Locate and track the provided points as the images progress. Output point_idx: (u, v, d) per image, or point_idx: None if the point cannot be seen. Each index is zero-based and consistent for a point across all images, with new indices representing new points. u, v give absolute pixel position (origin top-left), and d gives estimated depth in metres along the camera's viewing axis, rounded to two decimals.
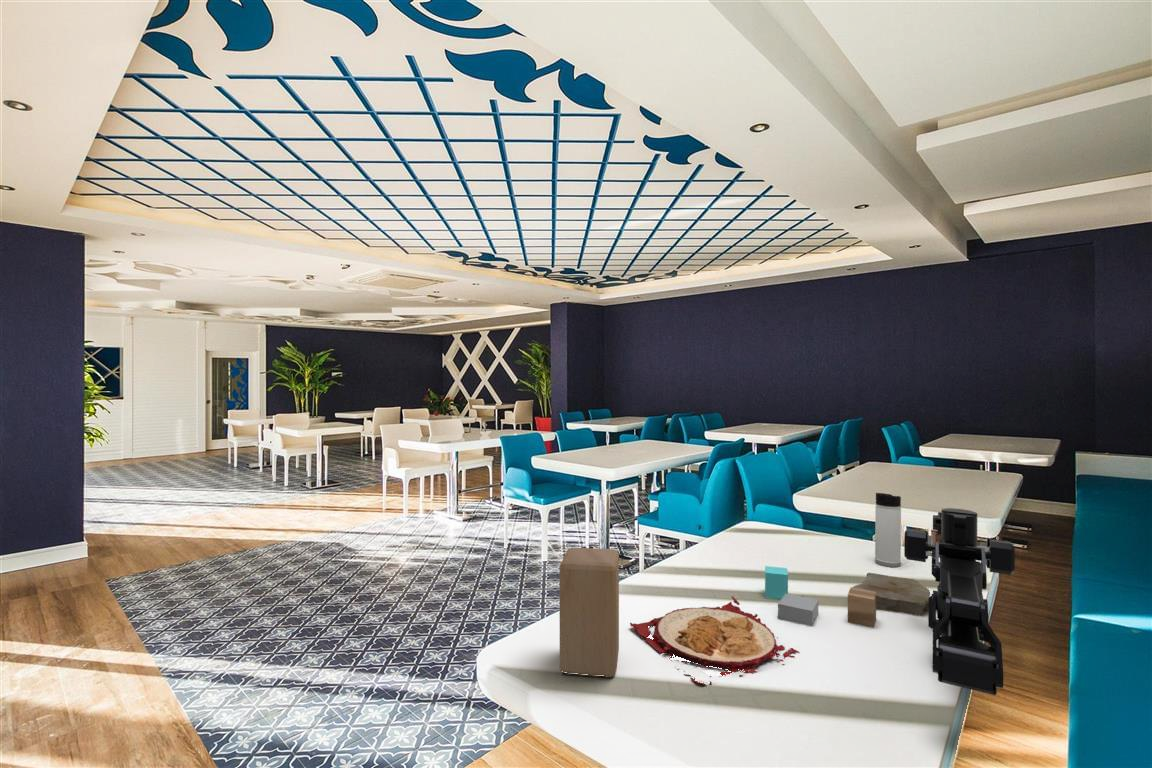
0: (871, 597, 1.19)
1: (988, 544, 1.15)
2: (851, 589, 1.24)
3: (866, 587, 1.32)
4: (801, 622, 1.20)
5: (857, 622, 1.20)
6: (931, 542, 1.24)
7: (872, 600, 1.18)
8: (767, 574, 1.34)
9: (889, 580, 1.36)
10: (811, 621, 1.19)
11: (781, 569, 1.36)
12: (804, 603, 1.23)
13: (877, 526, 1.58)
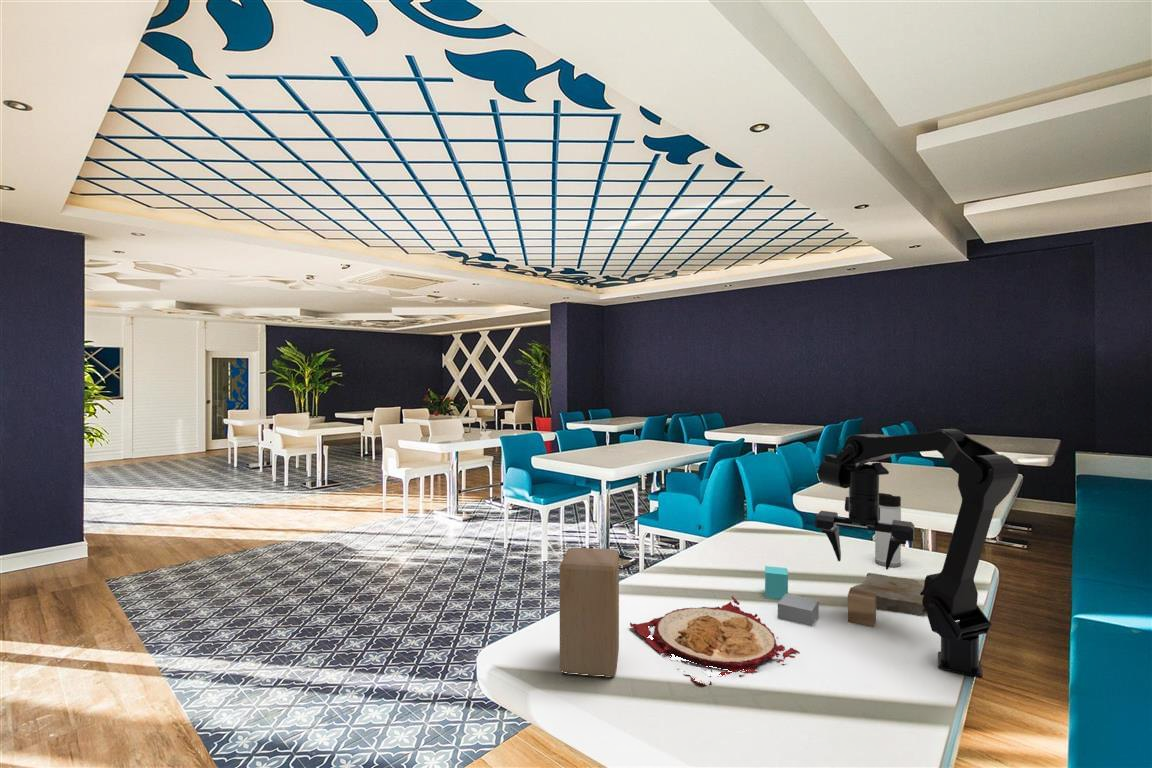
0: (871, 597, 1.19)
1: (892, 534, 1.20)
2: (851, 589, 1.24)
3: (866, 587, 1.32)
4: (801, 622, 1.20)
5: (857, 622, 1.20)
6: (839, 552, 1.23)
7: (872, 600, 1.18)
8: (767, 574, 1.34)
9: (889, 580, 1.36)
10: (811, 621, 1.19)
11: (781, 569, 1.36)
12: (804, 603, 1.23)
13: None
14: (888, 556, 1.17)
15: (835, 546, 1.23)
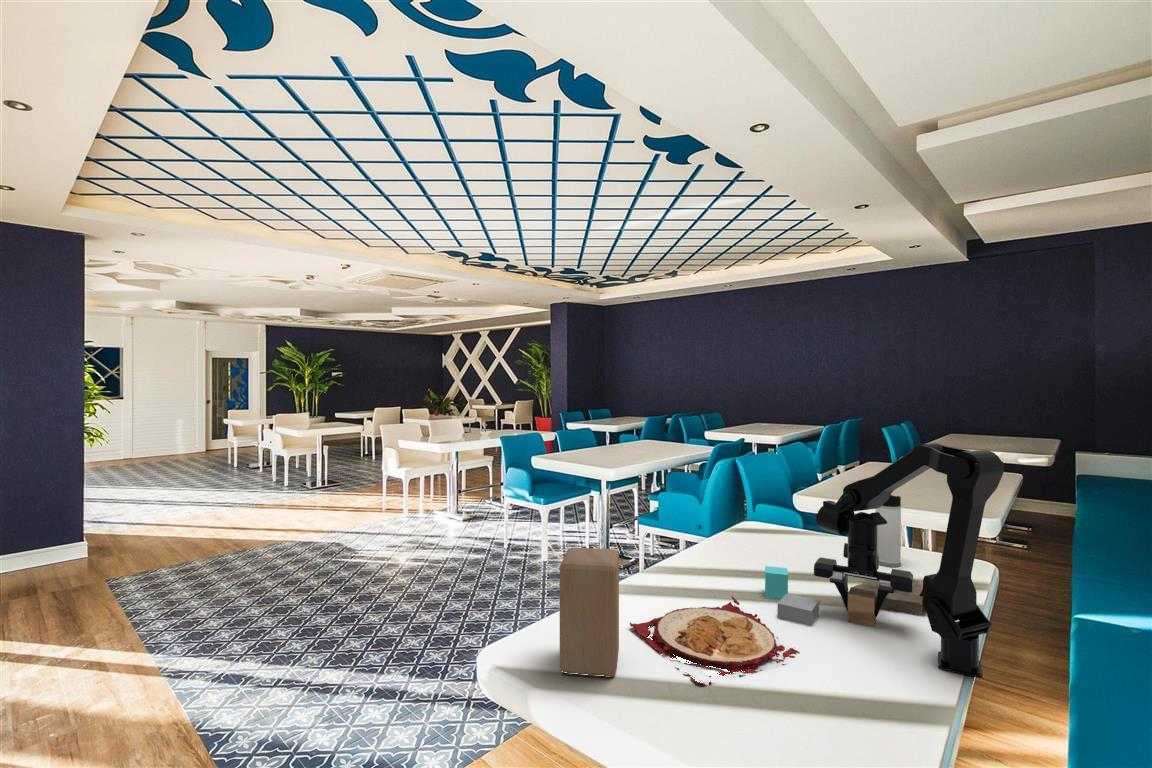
0: (871, 597, 1.19)
1: None
2: (851, 589, 1.24)
3: (866, 587, 1.32)
4: (800, 622, 1.20)
5: (857, 622, 1.20)
6: None
7: (872, 600, 1.18)
8: (767, 574, 1.34)
9: None
10: (810, 621, 1.19)
11: (781, 569, 1.36)
12: (804, 603, 1.23)
13: None
14: (877, 604, 1.18)
15: (844, 596, 1.22)
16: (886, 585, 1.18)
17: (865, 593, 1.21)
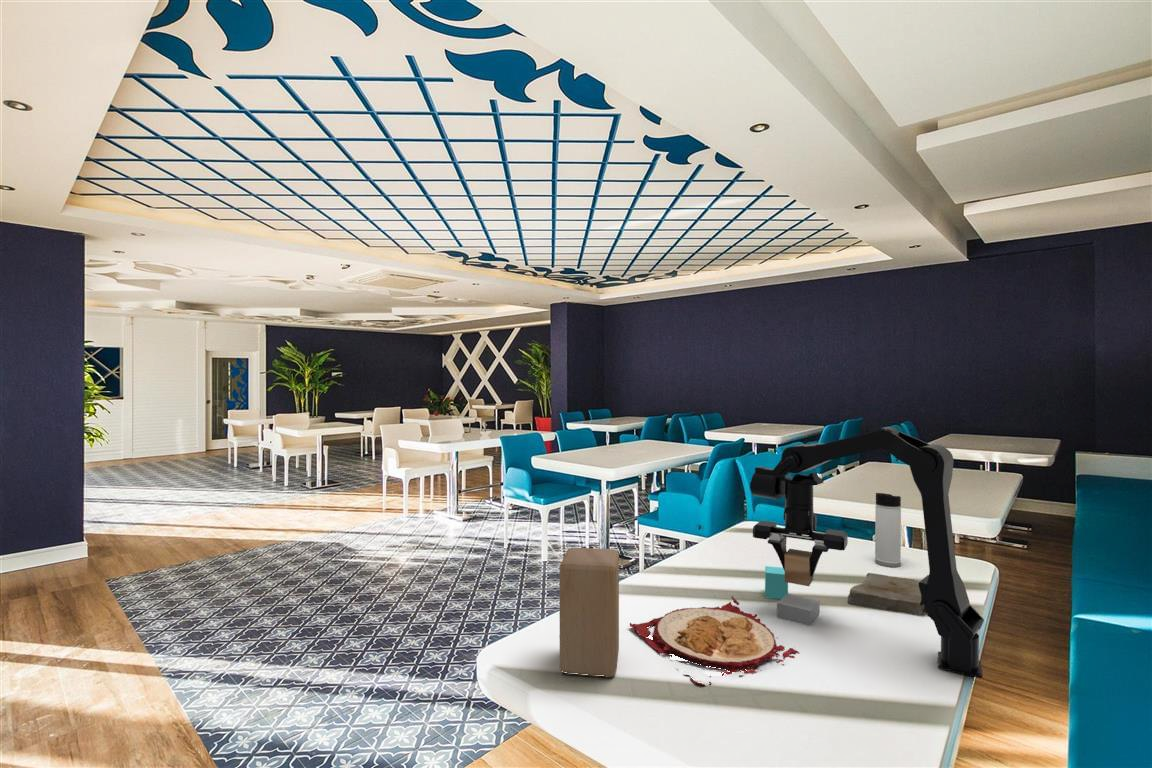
0: (806, 556, 1.21)
1: None
2: (789, 550, 1.26)
3: (866, 587, 1.32)
4: (799, 622, 1.20)
5: (793, 581, 1.22)
6: None
7: (807, 559, 1.20)
8: (767, 574, 1.34)
9: (889, 580, 1.36)
10: (809, 621, 1.19)
11: (781, 569, 1.36)
12: (804, 603, 1.23)
13: (877, 526, 1.58)
14: (812, 563, 1.20)
15: (781, 557, 1.24)
16: (820, 544, 1.20)
17: (802, 553, 1.23)
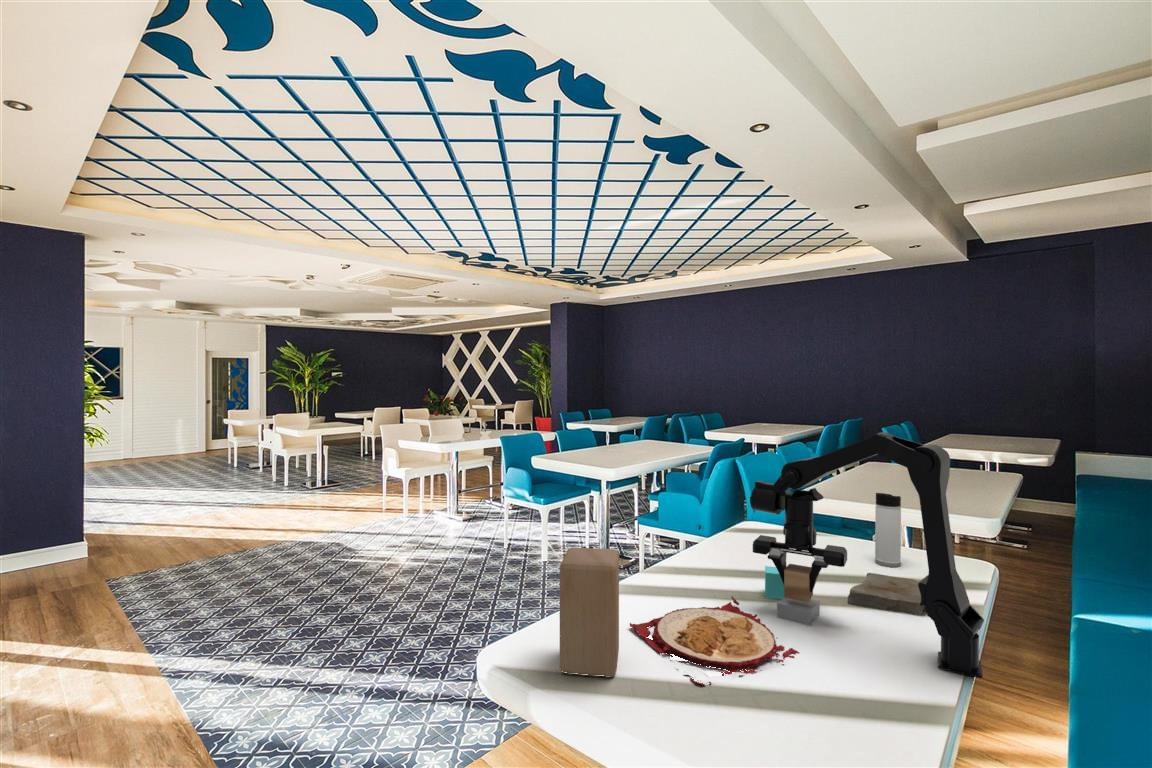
0: (806, 572, 1.21)
1: None
2: (789, 565, 1.26)
3: (866, 587, 1.32)
4: (799, 622, 1.20)
5: (793, 597, 1.22)
6: None
7: (807, 575, 1.20)
8: (767, 574, 1.34)
9: (889, 580, 1.36)
10: (809, 621, 1.19)
11: None
12: (804, 603, 1.23)
13: (877, 526, 1.58)
14: (811, 579, 1.21)
15: (781, 572, 1.24)
16: (820, 560, 1.20)
17: (801, 569, 1.23)
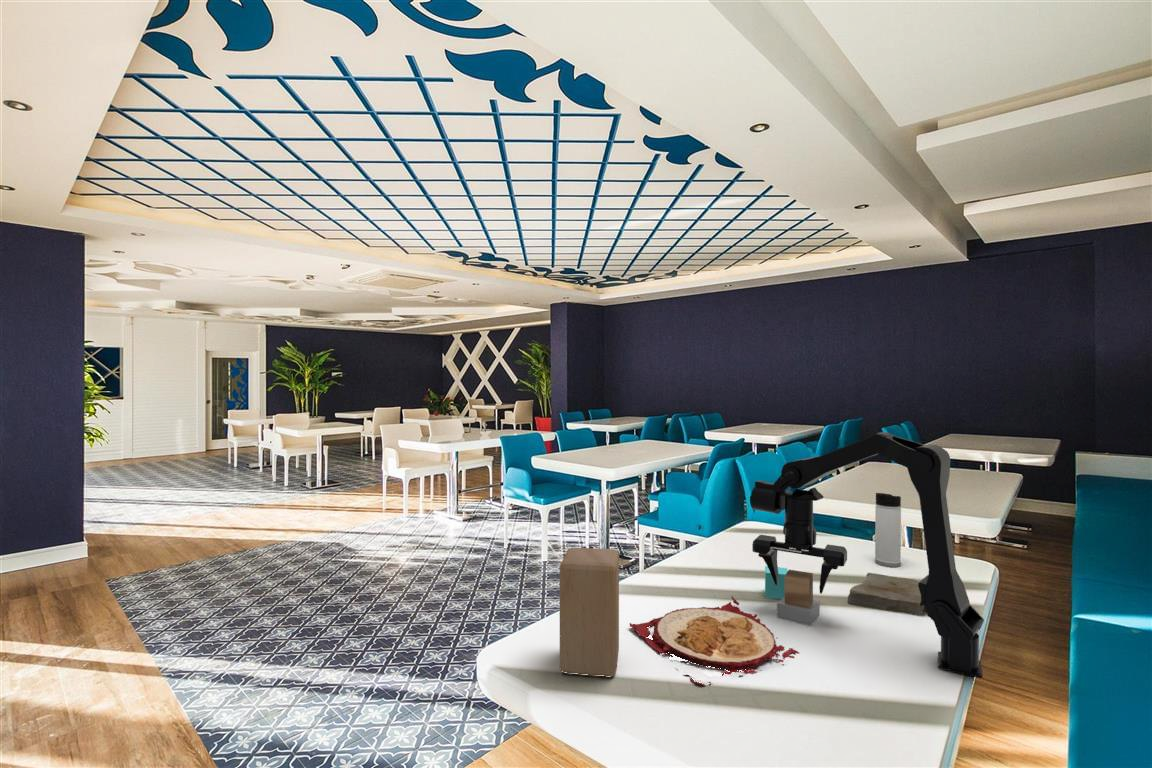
0: (806, 578, 1.21)
1: None
2: (789, 571, 1.26)
3: (866, 587, 1.32)
4: (799, 622, 1.20)
5: (793, 603, 1.22)
6: (776, 576, 1.26)
7: (807, 581, 1.20)
8: (767, 574, 1.34)
9: (889, 580, 1.36)
10: (809, 621, 1.19)
11: (781, 569, 1.36)
12: None
13: (877, 526, 1.58)
14: (821, 580, 1.20)
15: (772, 570, 1.25)
16: None
17: (801, 575, 1.23)
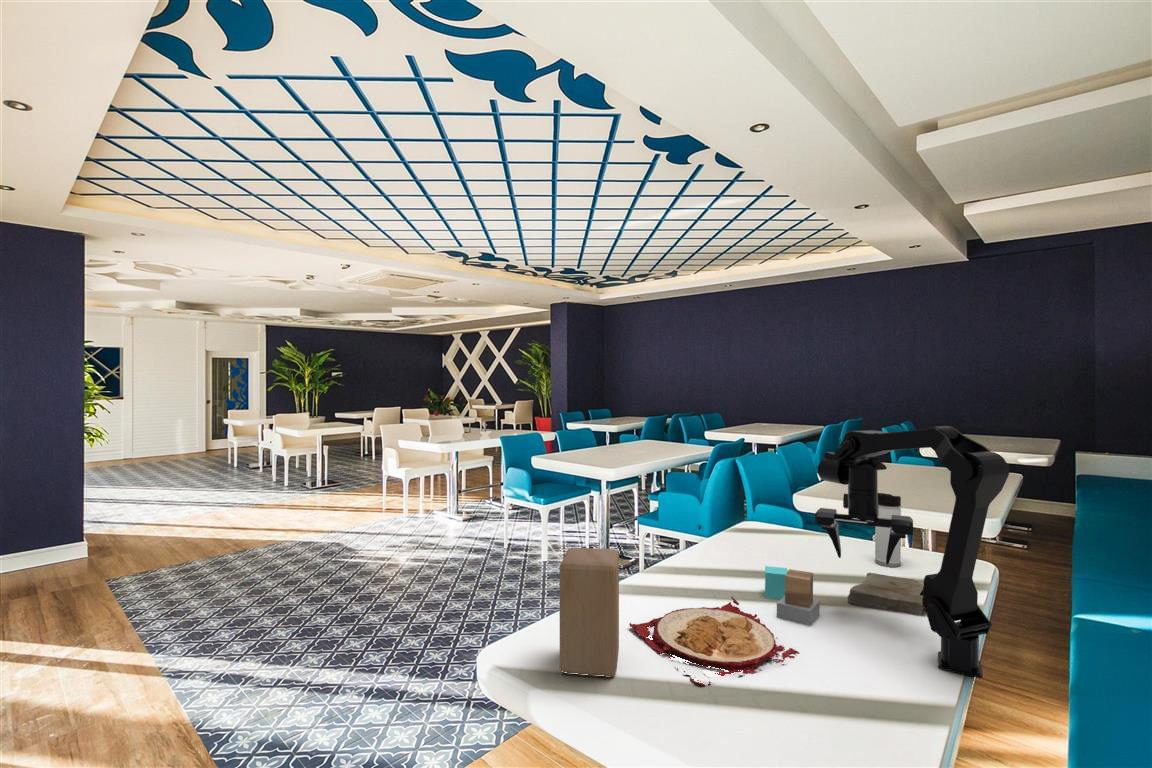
0: (807, 578, 1.21)
1: (891, 529, 1.21)
2: (789, 571, 1.26)
3: (866, 587, 1.32)
4: (799, 622, 1.20)
5: (794, 602, 1.22)
6: (840, 549, 1.24)
7: (808, 580, 1.20)
8: (767, 574, 1.34)
9: (889, 580, 1.36)
10: (809, 621, 1.19)
11: (781, 569, 1.36)
12: None
13: None
14: (888, 551, 1.18)
15: (836, 542, 1.23)
16: None
17: (802, 574, 1.23)
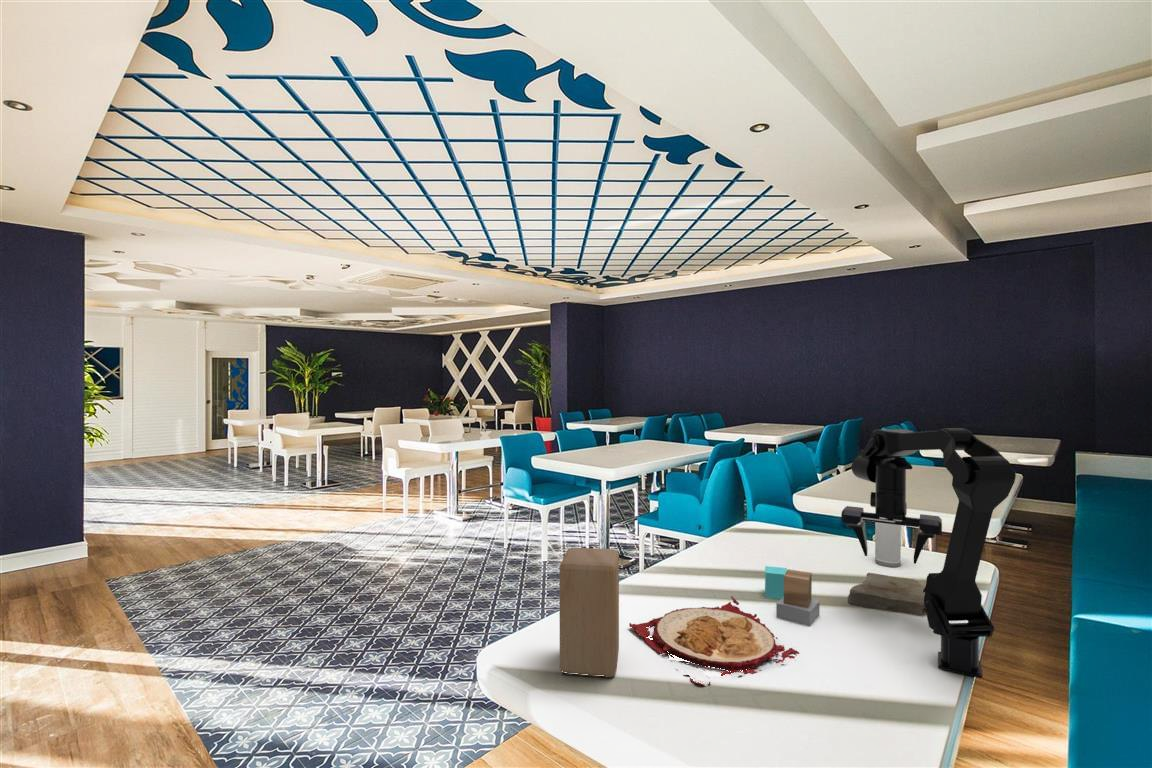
0: (805, 578, 1.21)
1: (919, 529, 1.21)
2: (788, 571, 1.26)
3: (866, 587, 1.32)
4: (799, 622, 1.20)
5: (793, 602, 1.22)
6: (866, 547, 1.24)
7: (806, 580, 1.21)
8: (767, 574, 1.34)
9: (889, 580, 1.36)
10: (808, 621, 1.19)
11: (781, 569, 1.36)
12: None
13: (877, 526, 1.58)
14: (916, 550, 1.18)
15: (862, 541, 1.23)
16: None
17: (800, 574, 1.24)
